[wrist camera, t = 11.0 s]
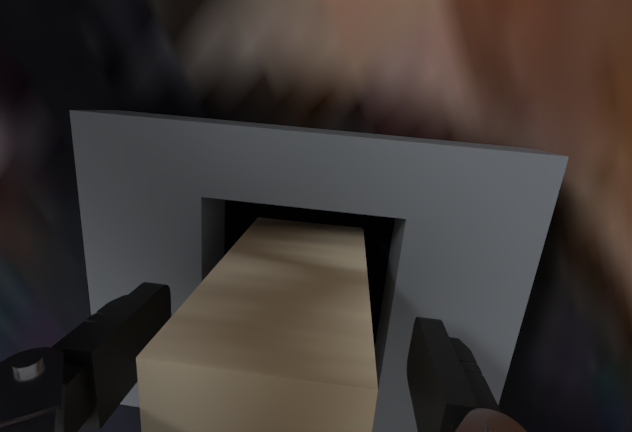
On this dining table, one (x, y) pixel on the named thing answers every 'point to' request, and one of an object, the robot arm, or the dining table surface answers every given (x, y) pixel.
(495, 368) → the dock plate
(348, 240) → the peg
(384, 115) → the dining table surface
